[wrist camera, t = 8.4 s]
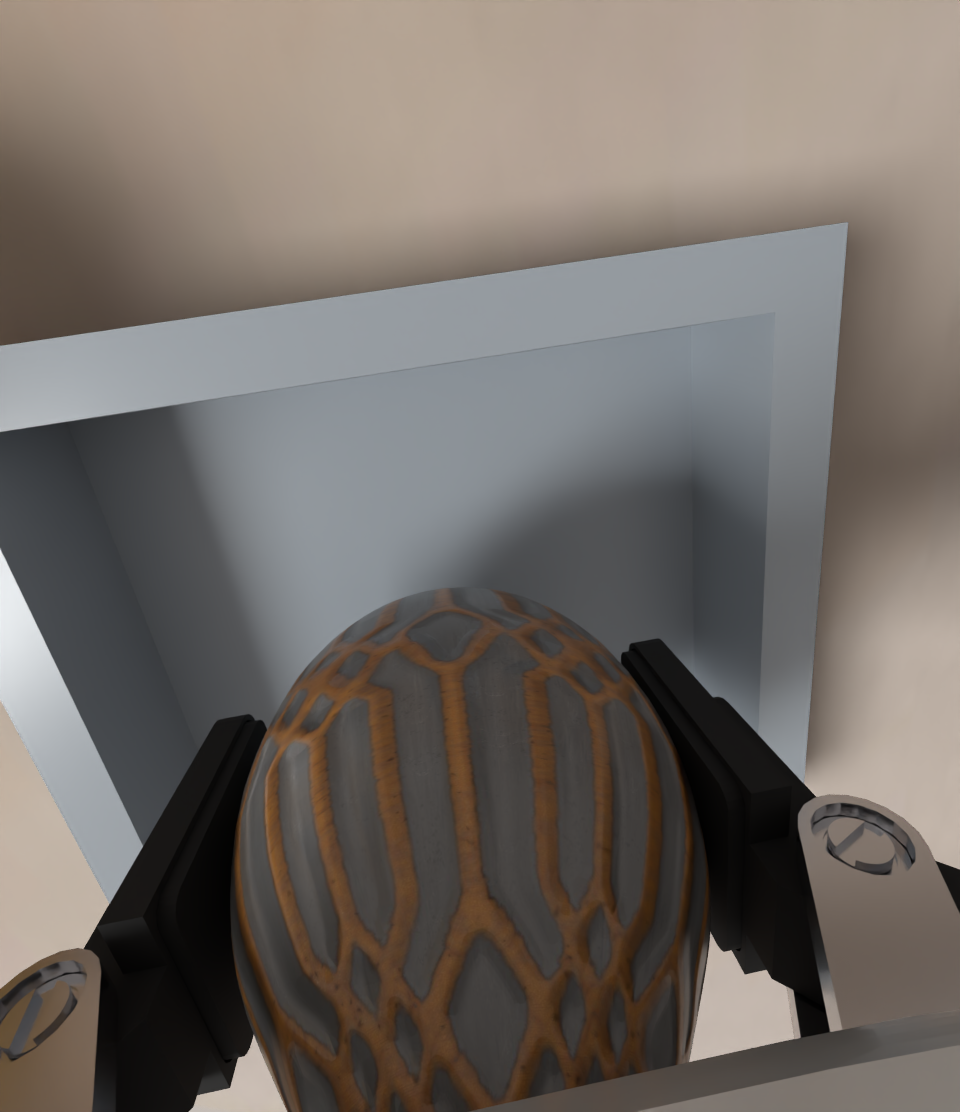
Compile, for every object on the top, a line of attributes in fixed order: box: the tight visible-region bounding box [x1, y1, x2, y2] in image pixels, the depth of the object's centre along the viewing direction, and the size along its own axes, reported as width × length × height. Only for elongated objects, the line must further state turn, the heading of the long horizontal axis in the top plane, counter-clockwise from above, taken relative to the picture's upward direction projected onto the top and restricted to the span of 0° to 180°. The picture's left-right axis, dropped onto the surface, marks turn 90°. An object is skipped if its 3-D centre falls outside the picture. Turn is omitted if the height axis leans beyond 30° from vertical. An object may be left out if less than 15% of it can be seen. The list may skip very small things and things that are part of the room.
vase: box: [230, 587, 711, 1112], centre depth 8 cm, size 7×7×9 cm
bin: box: [0, 222, 848, 904], centre depth 13 cm, size 16×16×4 cm
